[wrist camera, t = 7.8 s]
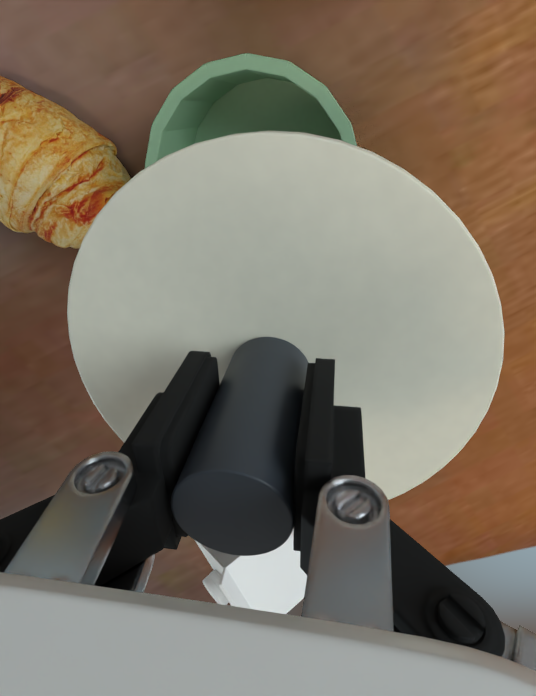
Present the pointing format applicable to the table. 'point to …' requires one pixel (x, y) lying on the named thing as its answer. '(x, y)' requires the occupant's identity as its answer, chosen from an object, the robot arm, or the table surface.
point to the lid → (285, 317)
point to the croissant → (52, 168)
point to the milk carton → (257, 578)
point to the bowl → (245, 105)
